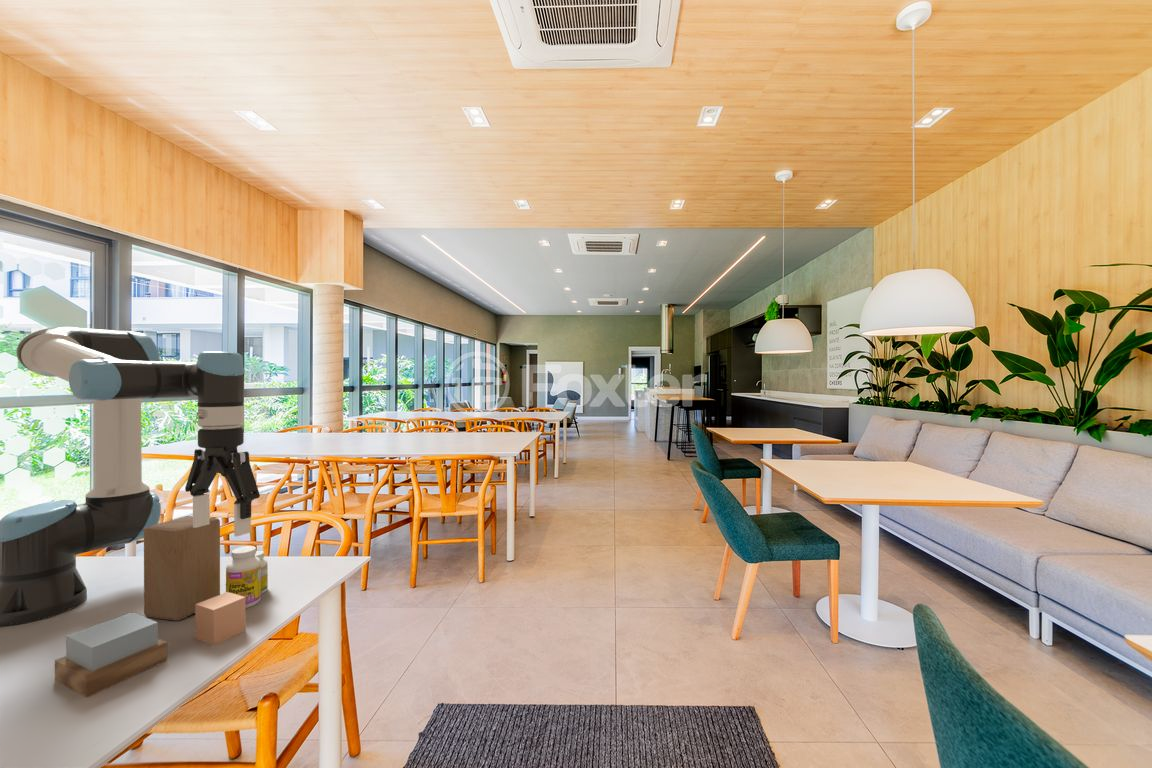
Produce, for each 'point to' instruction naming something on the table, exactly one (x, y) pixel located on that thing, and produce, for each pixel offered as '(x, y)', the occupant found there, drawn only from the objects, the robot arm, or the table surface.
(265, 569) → the supplement bottle
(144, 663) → the tower base
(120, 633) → the block
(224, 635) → the stack block
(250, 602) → the supplement bottle
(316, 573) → the table surface
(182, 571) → the block
